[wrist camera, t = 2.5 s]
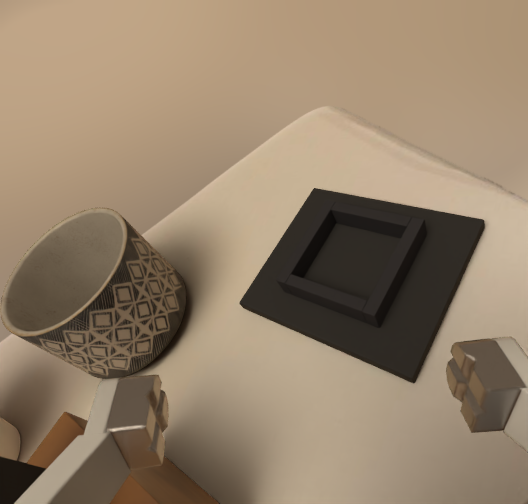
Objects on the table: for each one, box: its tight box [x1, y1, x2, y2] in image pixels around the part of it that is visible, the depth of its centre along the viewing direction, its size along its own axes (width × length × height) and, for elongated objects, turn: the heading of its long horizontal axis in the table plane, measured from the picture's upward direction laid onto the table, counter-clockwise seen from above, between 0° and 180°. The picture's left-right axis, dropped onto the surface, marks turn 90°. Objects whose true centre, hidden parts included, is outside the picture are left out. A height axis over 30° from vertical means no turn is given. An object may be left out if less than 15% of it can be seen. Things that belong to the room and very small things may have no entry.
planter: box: [0, 208, 186, 379], centre depth 39 cm, size 13×13×10 cm
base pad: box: [240, 188, 484, 383], centre depth 35 cm, size 16×14×3 cm
